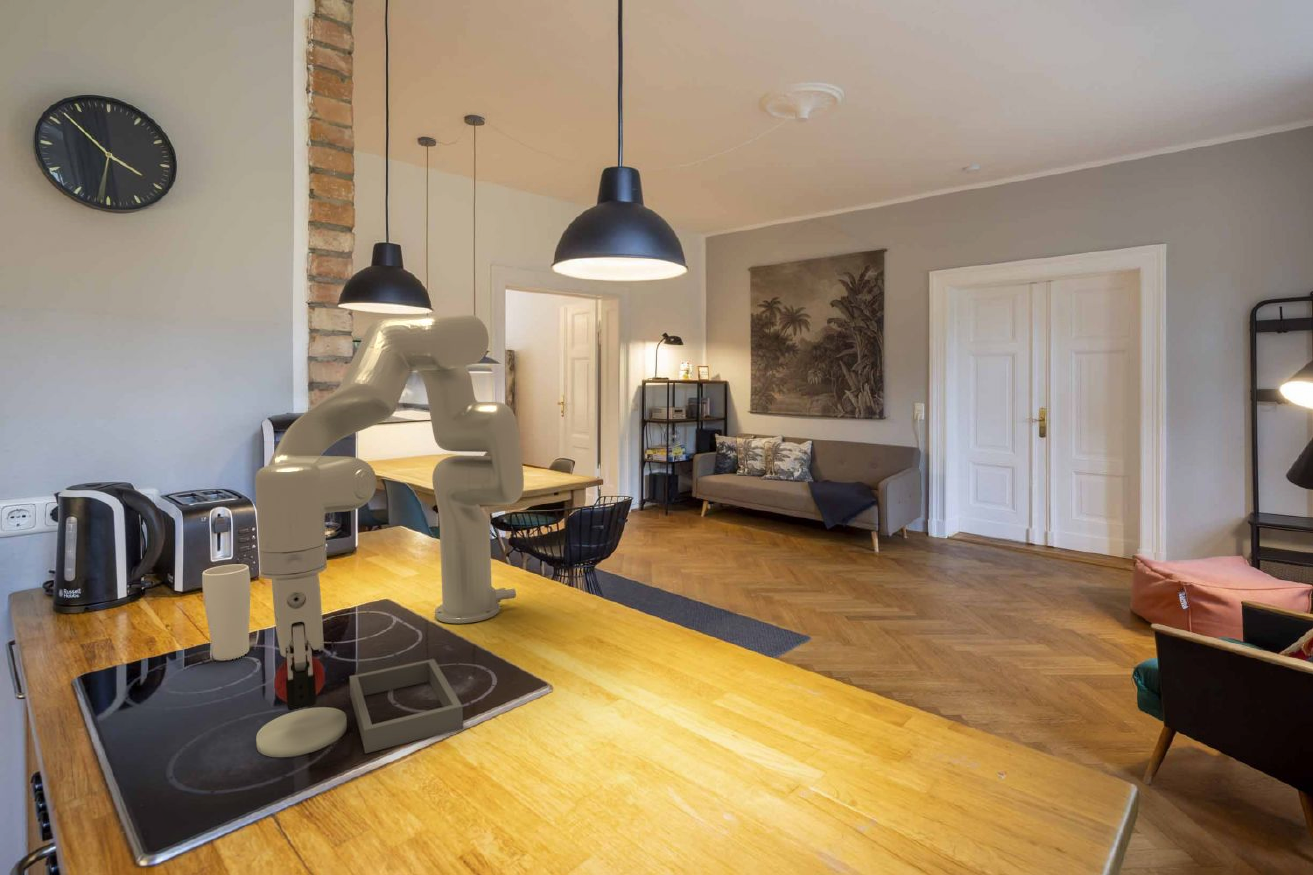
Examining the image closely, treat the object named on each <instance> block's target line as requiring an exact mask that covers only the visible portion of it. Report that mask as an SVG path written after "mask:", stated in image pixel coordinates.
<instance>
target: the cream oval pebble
mask: <svg viewBox="0 0 1313 875" xmlns="http://www.w3.org/2000/svg"><path fill="white" fill-rule="evenodd" d="M347 727H348V724H347V714H346V713H345V712H344V711H343V710H341V709H338V708H335V707H330V706H329V707H326V706H322V707H321V706H318V707H310V708H308V707H307V708H305V709H304V708H303V709H300V710H294V711H292V712H289V713H285V714H283V715H280V716H278V717H276V718H274V719H272V720H270V721H268V722H267V723H266V724H264V725H263V726H262V727H261V728H259V730H258V732H257V734H256V737H255V738H256V739H255V742H256V748H257V751H258V752H259V753H260V754H262V755H263V756H267V757H272V758H291V757H297V756H302V755H306V754H309V753H313V752H316V751H318V750H321V749H323V748H326V747H328V746H330V745H331V744H333V743H335V742H336V741H338V740H339V739H341V737H342V736H344V734H345V733H346V731H347Z"/></svg>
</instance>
